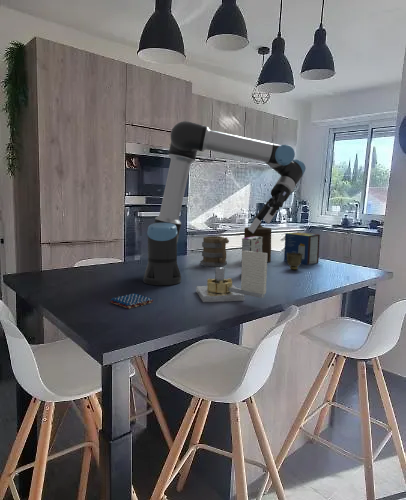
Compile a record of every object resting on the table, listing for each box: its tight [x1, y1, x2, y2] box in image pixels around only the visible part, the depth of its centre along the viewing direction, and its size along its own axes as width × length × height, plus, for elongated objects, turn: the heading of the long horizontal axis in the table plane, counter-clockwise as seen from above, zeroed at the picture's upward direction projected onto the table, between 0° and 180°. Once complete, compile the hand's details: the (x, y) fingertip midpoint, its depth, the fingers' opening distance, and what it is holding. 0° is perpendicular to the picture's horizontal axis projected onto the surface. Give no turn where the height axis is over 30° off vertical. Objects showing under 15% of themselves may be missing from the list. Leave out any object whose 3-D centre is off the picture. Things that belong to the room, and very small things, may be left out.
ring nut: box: [206, 250, 268, 299], centre depth 124 cm, size 22×8×15 cm, turn 50°
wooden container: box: [243, 223, 272, 263], centre depth 202 cm, size 15×15×22 cm
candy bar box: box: [241, 236, 263, 252], centre depth 170 cm, size 11×5×16 cm, turn 143°
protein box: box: [283, 231, 321, 266], centre depth 201 cm, size 10×15×16 cm
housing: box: [195, 266, 246, 303], centre depth 129 cm, size 14×14×10 cm
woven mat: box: [109, 292, 154, 310], centre depth 120 cm, size 10×11×2 cm
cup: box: [286, 252, 303, 271], centre depth 180 cm, size 8×7×8 cm
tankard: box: [200, 235, 230, 268], centre depth 187 cm, size 20×13×15 cm, turn 25°
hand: (258, 226), depth 148 cm, fingers open, 13 cm apart
